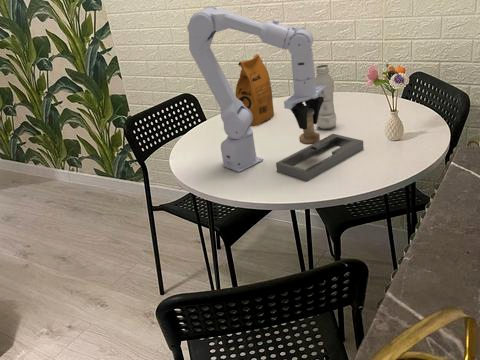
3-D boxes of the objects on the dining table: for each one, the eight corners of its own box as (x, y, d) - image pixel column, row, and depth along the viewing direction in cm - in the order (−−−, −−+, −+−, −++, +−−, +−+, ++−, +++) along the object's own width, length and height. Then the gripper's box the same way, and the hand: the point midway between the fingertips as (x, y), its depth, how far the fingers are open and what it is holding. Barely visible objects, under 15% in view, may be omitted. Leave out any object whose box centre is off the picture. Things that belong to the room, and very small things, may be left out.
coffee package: (235, 124, 180) (225, 62, 170) (256, 112, 188) (248, 53, 178) (257, 127, 173) (248, 63, 164) (278, 115, 182) (271, 53, 172)
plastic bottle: (321, 132, 161) (317, 70, 152) (313, 126, 167) (308, 66, 158) (340, 128, 162) (336, 66, 153) (331, 122, 168) (327, 62, 159)
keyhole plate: (306, 181, 132) (305, 172, 131) (276, 171, 140) (275, 162, 139) (363, 149, 145) (363, 140, 144) (333, 141, 153) (333, 133, 152)
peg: (309, 146, 138) (306, 117, 134) (295, 141, 142) (291, 112, 138) (324, 138, 141) (321, 109, 136) (309, 133, 145) (306, 104, 140)
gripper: (296, 87, 126) (301, 137, 132) (333, 71, 134) (336, 119, 140) (276, 83, 131) (281, 132, 137) (313, 68, 139) (317, 115, 145)
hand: (308, 126), depth 139 cm, fingers closed on peg, 4 cm apart
